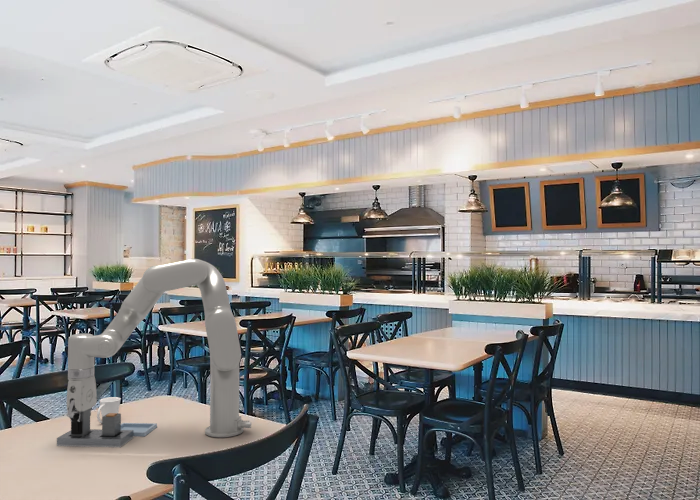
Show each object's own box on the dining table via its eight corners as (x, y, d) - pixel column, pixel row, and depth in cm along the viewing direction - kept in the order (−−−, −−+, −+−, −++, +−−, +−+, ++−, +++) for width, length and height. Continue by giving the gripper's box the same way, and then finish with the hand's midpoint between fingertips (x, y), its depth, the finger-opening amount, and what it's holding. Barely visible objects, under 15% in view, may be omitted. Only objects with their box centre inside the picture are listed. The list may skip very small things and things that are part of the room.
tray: (156, 428, 189) (157, 423, 189) (144, 438, 179) (144, 432, 179) (122, 428, 189) (122, 422, 189) (108, 437, 179) (108, 431, 179)
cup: (124, 420, 199) (125, 397, 199) (106, 428, 189) (107, 404, 189) (107, 418, 200) (107, 396, 200) (88, 426, 191) (89, 403, 191)
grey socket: (133, 439, 177) (133, 410, 177) (120, 449, 168) (120, 418, 168) (73, 438, 178) (73, 409, 179) (56, 447, 169) (57, 417, 170)
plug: (90, 433, 176) (90, 407, 176) (83, 438, 172) (83, 411, 172) (77, 433, 176) (78, 407, 176) (70, 437, 172) (71, 411, 172)
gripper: (78, 379, 165) (77, 440, 165) (106, 368, 182) (105, 424, 182) (54, 379, 166) (53, 440, 166) (83, 368, 183) (83, 423, 182)
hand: (80, 431), depth 174 cm, fingers closed on plug, 3 cm apart
